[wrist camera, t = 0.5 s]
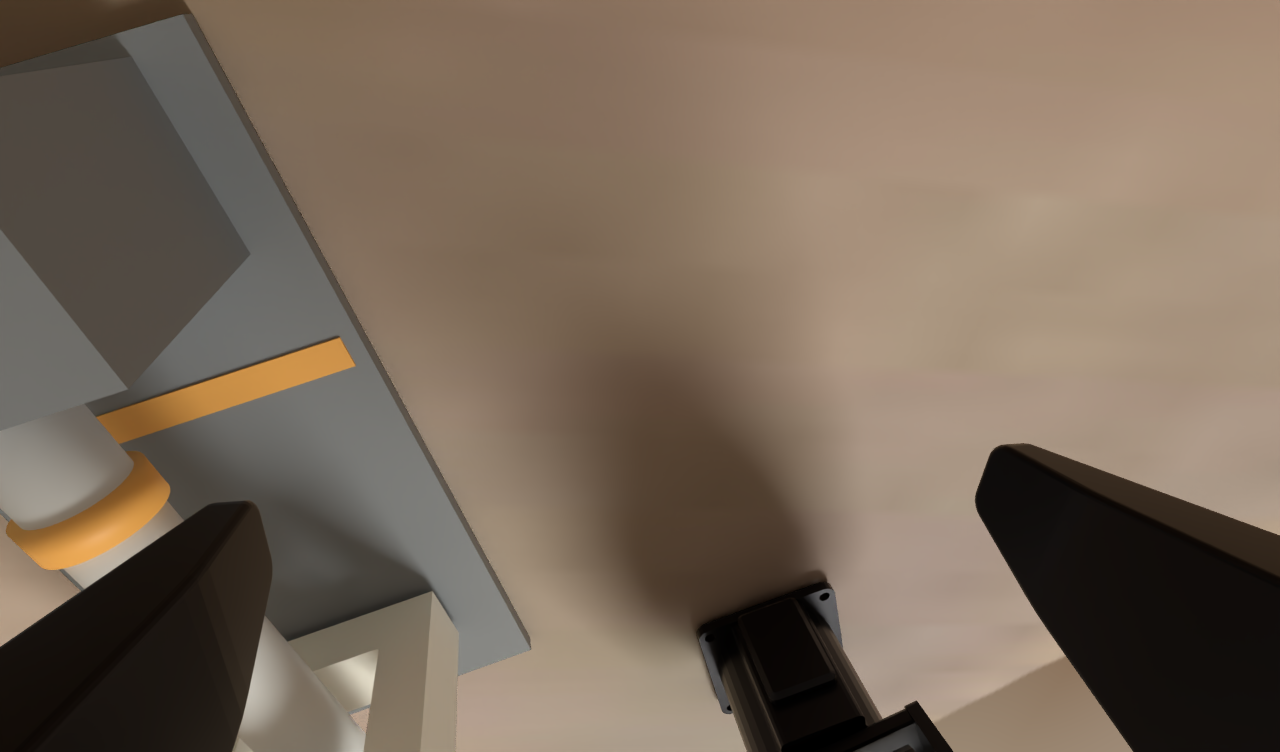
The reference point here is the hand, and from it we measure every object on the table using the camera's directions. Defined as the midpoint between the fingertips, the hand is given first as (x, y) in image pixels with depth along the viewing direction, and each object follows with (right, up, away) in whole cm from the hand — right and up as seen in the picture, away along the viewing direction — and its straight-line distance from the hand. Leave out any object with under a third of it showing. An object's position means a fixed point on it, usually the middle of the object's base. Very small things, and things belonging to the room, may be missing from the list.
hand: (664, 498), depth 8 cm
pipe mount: (-14, -2, +14) cm, 19 cm away
